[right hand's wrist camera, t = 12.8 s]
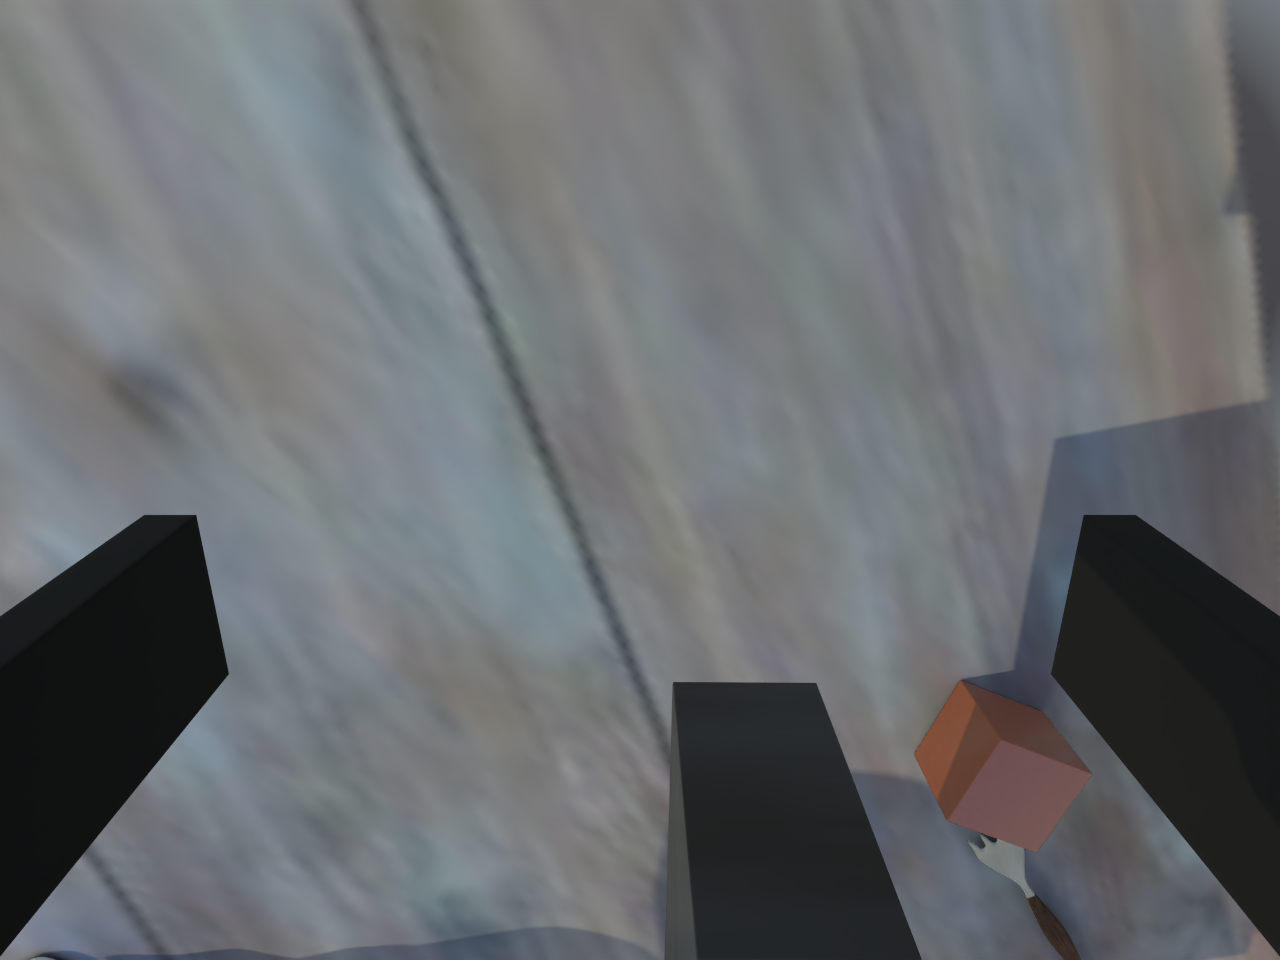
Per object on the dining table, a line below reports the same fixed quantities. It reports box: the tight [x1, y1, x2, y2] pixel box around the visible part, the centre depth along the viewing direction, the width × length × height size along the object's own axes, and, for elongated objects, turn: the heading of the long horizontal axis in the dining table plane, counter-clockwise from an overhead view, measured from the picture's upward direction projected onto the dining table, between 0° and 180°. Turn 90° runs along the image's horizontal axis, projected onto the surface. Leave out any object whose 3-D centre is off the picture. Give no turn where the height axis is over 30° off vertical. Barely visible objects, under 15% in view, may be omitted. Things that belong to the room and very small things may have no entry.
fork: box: [968, 834, 1081, 960], centre depth 46 cm, size 3×16×2 cm, turn 34°
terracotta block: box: [914, 680, 1092, 853], centre depth 42 cm, size 5×5×5 cm
